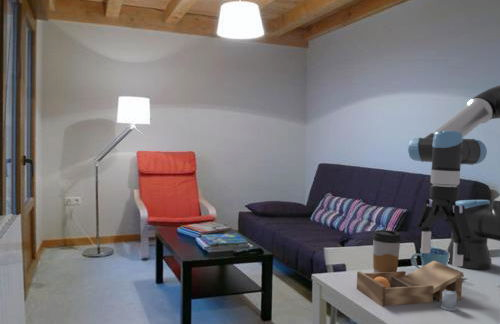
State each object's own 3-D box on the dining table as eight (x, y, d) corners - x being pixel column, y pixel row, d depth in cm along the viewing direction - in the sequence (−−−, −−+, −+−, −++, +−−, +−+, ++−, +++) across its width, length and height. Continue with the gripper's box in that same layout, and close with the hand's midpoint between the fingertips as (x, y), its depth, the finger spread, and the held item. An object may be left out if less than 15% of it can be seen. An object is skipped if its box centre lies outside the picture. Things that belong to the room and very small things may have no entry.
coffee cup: (395, 277, 137) (397, 230, 137) (401, 286, 129) (404, 236, 128) (368, 275, 138) (370, 229, 137) (373, 284, 130) (375, 234, 129)
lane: (432, 284, 132) (434, 259, 132) (464, 299, 119) (465, 273, 119) (356, 288, 126) (357, 262, 125) (381, 305, 113) (382, 277, 113)
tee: (450, 304, 115) (450, 288, 115) (460, 310, 111) (461, 294, 111) (437, 305, 114) (437, 289, 114) (447, 311, 110) (448, 294, 110)
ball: (386, 285, 123) (372, 294, 122) (379, 270, 123) (365, 280, 122) (396, 292, 119) (381, 301, 118) (389, 276, 118) (374, 285, 117)
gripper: (490, 190, 112) (485, 271, 113) (427, 181, 136) (424, 247, 137) (465, 190, 110) (460, 272, 111) (406, 180, 134) (403, 248, 136)
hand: (440, 259), depth 124 cm, fingers open, 13 cm apart
